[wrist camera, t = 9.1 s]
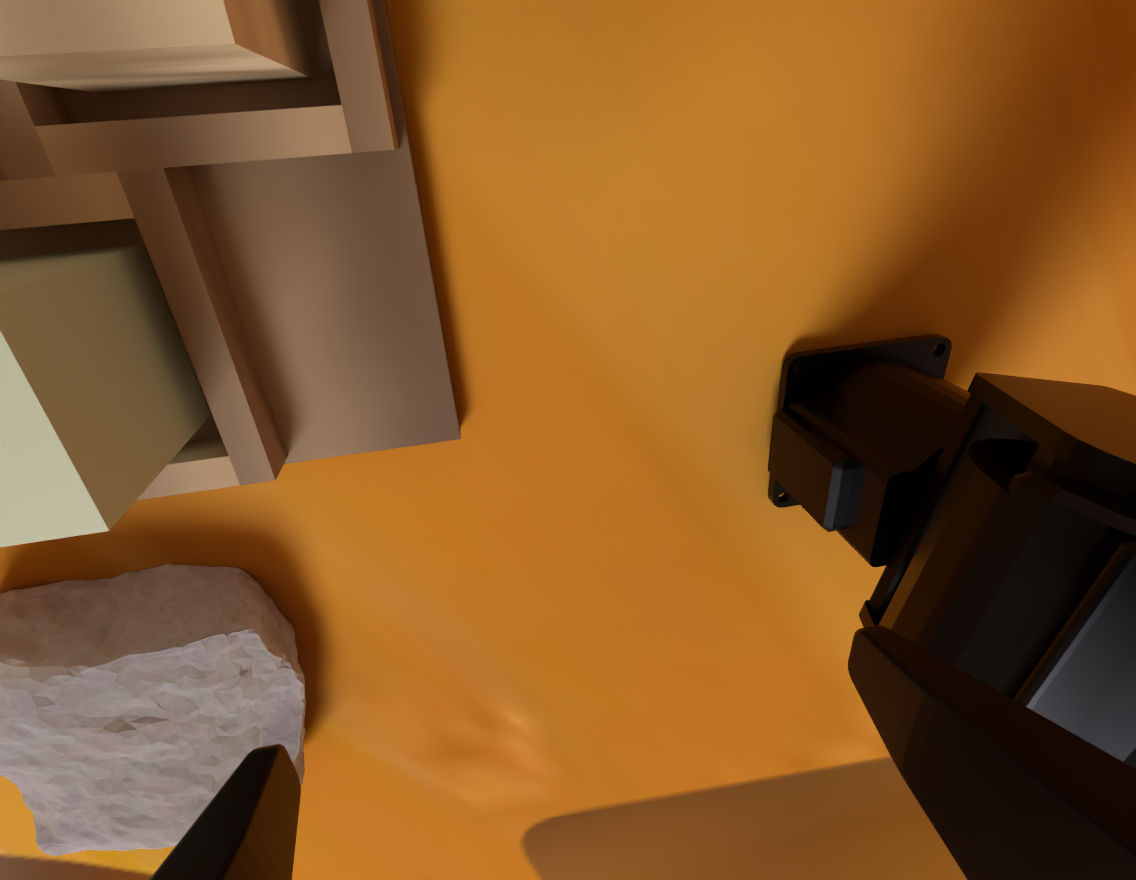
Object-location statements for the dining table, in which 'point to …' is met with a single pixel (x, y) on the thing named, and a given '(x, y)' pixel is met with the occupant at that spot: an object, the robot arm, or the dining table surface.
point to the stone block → (141, 700)
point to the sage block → (86, 390)
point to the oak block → (151, 43)
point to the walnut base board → (257, 244)
